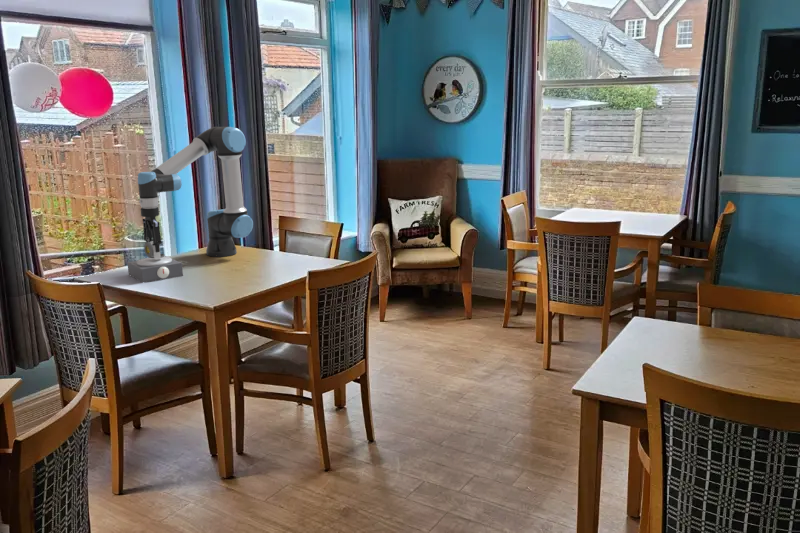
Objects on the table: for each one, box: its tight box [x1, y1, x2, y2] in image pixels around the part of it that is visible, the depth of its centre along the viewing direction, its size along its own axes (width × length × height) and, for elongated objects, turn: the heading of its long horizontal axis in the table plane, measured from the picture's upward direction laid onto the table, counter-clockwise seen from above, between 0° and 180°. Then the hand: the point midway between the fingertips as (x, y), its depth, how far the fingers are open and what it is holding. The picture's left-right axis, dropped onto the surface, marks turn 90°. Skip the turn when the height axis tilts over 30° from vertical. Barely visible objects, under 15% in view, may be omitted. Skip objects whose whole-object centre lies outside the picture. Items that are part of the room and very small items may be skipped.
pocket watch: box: [143, 237, 165, 258], centre depth 304 cm, size 8×8×10 cm
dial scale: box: [127, 255, 184, 283], centre depth 305 cm, size 19×18×7 cm
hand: (154, 257), depth 305 cm, fingers closed on pocket watch, 7 cm apart
